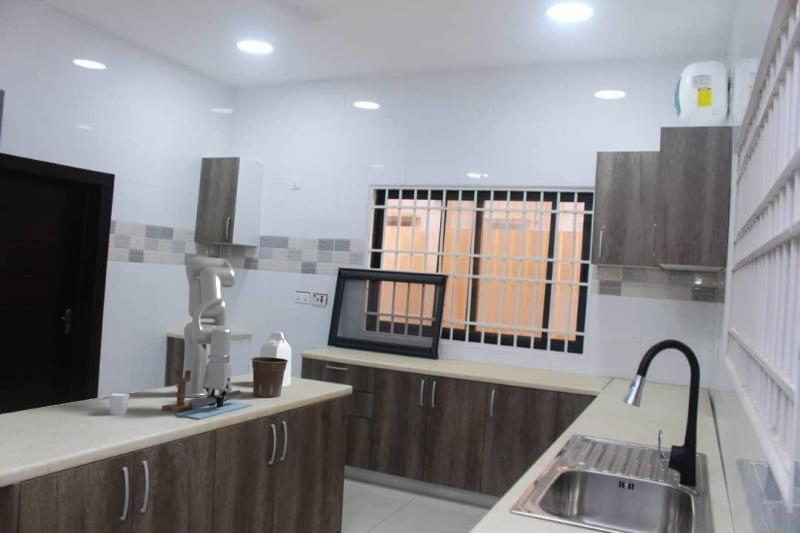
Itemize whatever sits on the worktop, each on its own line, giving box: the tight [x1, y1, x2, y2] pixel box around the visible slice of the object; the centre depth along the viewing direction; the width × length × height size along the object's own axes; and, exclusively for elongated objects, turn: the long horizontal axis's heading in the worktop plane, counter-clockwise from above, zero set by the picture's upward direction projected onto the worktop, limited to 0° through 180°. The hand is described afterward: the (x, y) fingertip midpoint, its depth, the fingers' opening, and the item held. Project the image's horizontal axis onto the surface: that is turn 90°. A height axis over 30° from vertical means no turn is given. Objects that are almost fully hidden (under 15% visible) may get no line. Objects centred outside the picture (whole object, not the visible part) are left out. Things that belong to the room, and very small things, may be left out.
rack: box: [161, 367, 226, 413], centre depth 254 cm, size 9×28×15 cm, turn 158°
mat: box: [175, 400, 253, 420], centre depth 248 cm, size 11×32×1 cm, turn 158°
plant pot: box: [251, 356, 288, 398], centre depth 285 cm, size 16×16×16 cm
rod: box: [189, 389, 242, 409], centre depth 248 cm, size 28×3×3 cm, turn 158°
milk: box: [259, 331, 292, 387], centre depth 311 cm, size 12×12×26 cm
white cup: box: [108, 392, 130, 416], centre depth 233 cm, size 7×7×7 cm
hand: (215, 405), depth 248 cm, fingers closed on rod, 3 cm apart
